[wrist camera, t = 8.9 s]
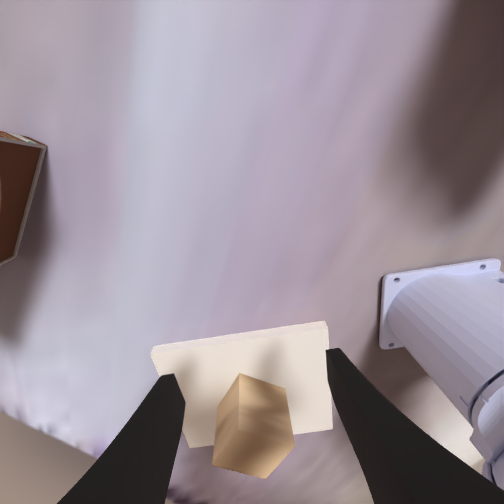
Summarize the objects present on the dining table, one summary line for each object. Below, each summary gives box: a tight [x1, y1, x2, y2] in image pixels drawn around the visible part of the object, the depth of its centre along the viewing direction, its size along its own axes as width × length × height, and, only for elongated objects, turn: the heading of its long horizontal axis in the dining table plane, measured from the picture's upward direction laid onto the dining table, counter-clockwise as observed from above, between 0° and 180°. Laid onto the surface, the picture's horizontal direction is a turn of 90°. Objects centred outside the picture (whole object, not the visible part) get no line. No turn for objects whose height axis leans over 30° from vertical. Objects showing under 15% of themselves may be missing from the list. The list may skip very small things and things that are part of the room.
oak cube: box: [212, 373, 295, 479], centre depth 21 cm, size 5×5×5 cm
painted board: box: [150, 321, 333, 448], centre depth 24 cm, size 16×14×1 cm
